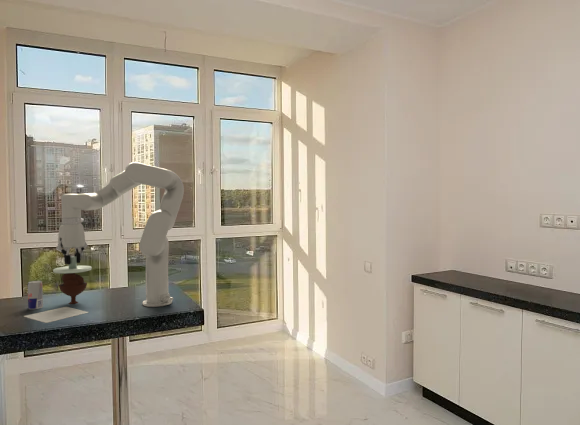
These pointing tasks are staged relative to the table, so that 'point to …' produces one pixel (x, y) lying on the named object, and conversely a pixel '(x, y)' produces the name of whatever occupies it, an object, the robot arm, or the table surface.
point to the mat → (55, 314)
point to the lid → (72, 267)
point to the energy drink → (35, 295)
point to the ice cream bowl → (72, 286)
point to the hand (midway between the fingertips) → (72, 262)
